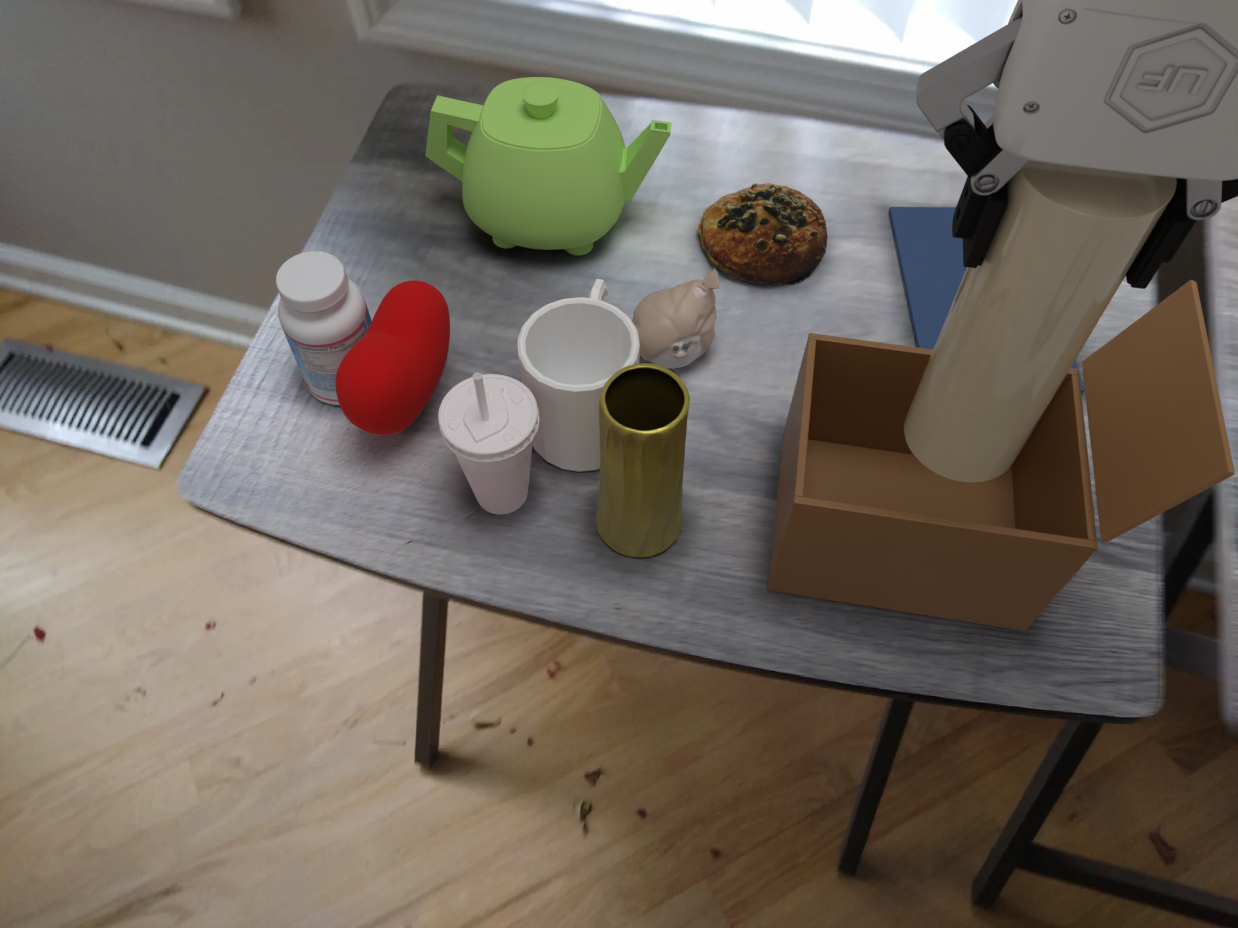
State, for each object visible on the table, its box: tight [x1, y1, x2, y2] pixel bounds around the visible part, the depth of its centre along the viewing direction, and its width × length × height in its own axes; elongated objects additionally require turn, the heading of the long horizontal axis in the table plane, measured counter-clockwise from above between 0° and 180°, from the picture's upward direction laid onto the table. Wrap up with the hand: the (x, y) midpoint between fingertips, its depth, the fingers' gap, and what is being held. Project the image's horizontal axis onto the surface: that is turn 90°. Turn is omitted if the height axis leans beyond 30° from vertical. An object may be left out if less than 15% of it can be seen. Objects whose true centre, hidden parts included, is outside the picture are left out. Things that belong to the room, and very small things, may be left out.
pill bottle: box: [275, 250, 372, 406], centre depth 71 cm, size 6×6×11 cm
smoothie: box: [437, 372, 540, 516], centre depth 64 cm, size 6×6×14 cm
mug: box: [516, 278, 641, 473], centre depth 70 cm, size 8×12×10 cm
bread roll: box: [697, 182, 828, 286], centre depth 83 cm, size 11×11×5 cm
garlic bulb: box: [631, 268, 720, 369], centre depth 74 cm, size 7×6×8 cm
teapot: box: [424, 76, 672, 256], centre depth 80 cm, size 20×13×13 cm
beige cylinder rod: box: [904, 161, 1177, 483], centre depth 48 cm, size 6×6×19 cm
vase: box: [594, 362, 691, 558], centre depth 63 cm, size 6×6×14 cm
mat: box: [888, 206, 1085, 395], centre depth 80 cm, size 20×12×1 cm, turn 0°
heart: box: [335, 279, 451, 436], centre depth 70 cm, size 12×5×10 cm, turn 160°
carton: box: [767, 332, 1099, 632], centre depth 64 cm, size 17×13×12 cm
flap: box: [1081, 279, 1236, 543], centre depth 54 cm, size 8×13×1 cm
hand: (1051, 253), depth 44 cm, fingers closed on beige cylinder rod, 6 cm apart
